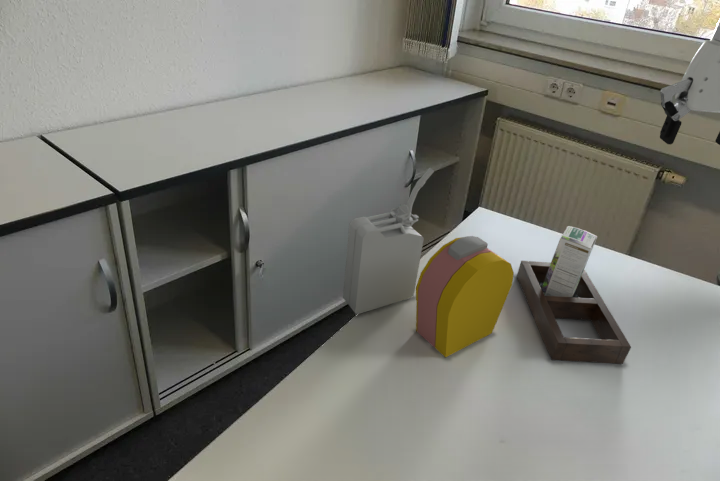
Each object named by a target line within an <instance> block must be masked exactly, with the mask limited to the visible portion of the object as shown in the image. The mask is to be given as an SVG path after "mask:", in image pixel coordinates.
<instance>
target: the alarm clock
mask: <svg viewBox="0 0 720 481" xmlns="http://www.w3.org/2000/svg"><path fill="white" fill-rule="evenodd" d="M488 245H489V244H488V243H487V242H486V241H485V240H483V239H482V238H481V237H479V236H475V235H468V236H461V237H455V238H454V239H452V240H450V241H448V242H447V243H445V244H443V245H442V246H441V247H439V249H438V250H437V251H436V252H435V253H434V254H433V255H431V257H429V260H428V261H427V262H426V264H425V266H424V267H423V268H422V270H421V272H420V274H419V277H418V280H417V282H416V285H415V301H416V304H415V305H416V309H415V320H416V321H415V331H416V332H417V334H419V335H420V336H421V337H422V338H423V339H424V340H426V341H427V343H429V344H430V345H431V346H432V347H433V348H435V350H436V351H437V352H439V353H440V354H441V355H442V356H444V358H447V357H449V356H452V355H453V354H456V353H458V352H459V351H461V350H463V349H465V348H467V347H468V346H470V345H472V344H475V343H476V342H478V341H480V340H482V339H484V338H486V337H488V336H489V335H491V334H492V333H493V332H494V329H495V327H496V324H497V322H498V320H499V318H500V315H501V312H502V310H503V309H504V306H505V303H506V301H507V298H508V297H509V294H510V292H511V289H512V286H513V281H514V274H515V272H514V269H513V266H512V263H511V262H510V261H507V260H506V259H504V257H502V256H500V255H498V254H497V253H495V252H494V251H493V250H492V249H489V248H488Z"/></svg>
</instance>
